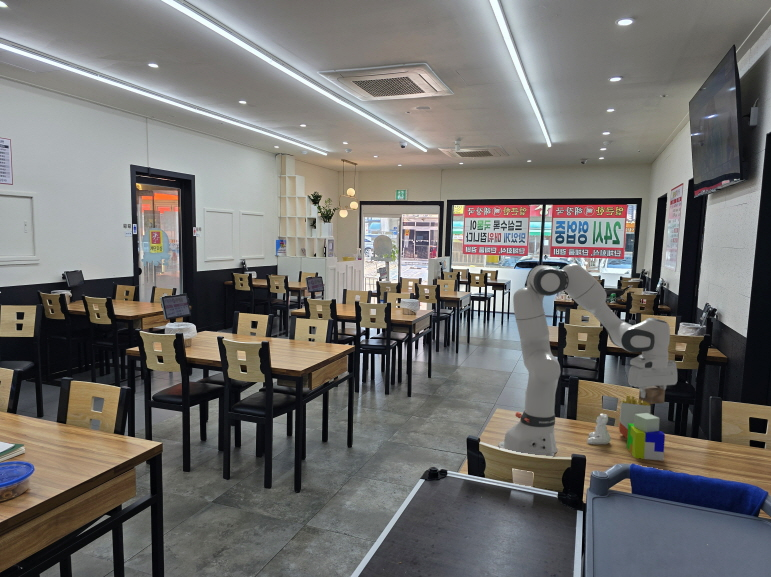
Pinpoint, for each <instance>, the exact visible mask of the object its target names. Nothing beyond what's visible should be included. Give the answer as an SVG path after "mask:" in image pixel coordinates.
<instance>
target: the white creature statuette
mask: <svg viewBox="0 0 771 577" xmlns="http://www.w3.org/2000/svg"><path fill="white" fill-rule="evenodd" d="M608 422H609V417H608V414H605V413H600V415H598V416H597V417H596V420H595V423H597V424H596V426H595V428H594V431H592V432H589V433H588V438H587V439H586V442H587V444H588V445H592V444H593V445H608V444H610V442H611V440H612V436H611V434H610V432H608V427H607V423H608Z"/></svg>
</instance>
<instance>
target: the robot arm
mask: <svg viewBox="0 0 771 577" xmlns="http://www.w3.org/2000/svg"><path fill="white" fill-rule="evenodd" d="M560 292H561V293H562V292H565V293H566V294H568V295H569V297H570V298H571V299H572V300H573V301H574V302H575V303H576V304H577V305H578V306H580V307H581V308H582V309H584V310H585V311H587V312H589V313H590V314H592V316H594V317H595V318H596V319H597V321H598V322H599V323H600V324H601V325H602V326H603V327H604V328H605V330H606V332H607V335H608V337H609V340H610V342H611V343H612V344H613V345H614V346H616V347H619V348H621V349H623V350H625V351H627V352H629V353H641V354H639V355H638V356H636V357H633V358H631V359H630V360H629V365H631V366H630V367H629V369H628V374H627V375H628V376H627V383H628V385H629V386H631V387H634V388H638V391H640V392H641V397H642V398H647V394H648V393H646V392H645V390H644V389H646V387H648V386H655V387H658V388H661V389H664V390H665V391H666V389H667V386H675V385H677V382H678V368H677V363H676V361H674V360H672V359H671V360H669V355H670V353H669V350H668V349H669V345H670V340H671V333H670V332H671V330H670V325H669V323H668V322H667V321H665V320H662V319H659V318H655V317H647V318H646V319H645V320H643V321H641V322H639V323H636V324H633V325H632V324H630V323H629V322H626V321H623V320H622V319H621V318H619V317H618V316H617V314H616V313H614V311H613V310H612V309H611V308H610V306H608V304H607V302H606V301H607V292H606V290H605V289H604V286H602V285H601V283H600V282H599V281H598V280H597V279H596V278H595V277H594V276H593V275H592V274H591V273H590V272H589V271H588V270H586V269H585V268H584V267H582V266H581V265H580V264H577V263H569V264H567V265H565V266H563V267H562V268H561V269H559V268H555V267H553V266H550V265H546V264H538V265H535V266H534V267H532V268H531V269H530V270H529V272H528V274H527V276H526V279H525V282H524V287H522V288H519V289H518V290H516V291H515V292H514V294H513V296H512V297H513V298H512V303H513V304H512V305H513V312H514V313H513V314H514V316H515V321H516V325H517V331H518V334H519V339H520V347H521V354H522V360H523V364H524V367H525V368H526V370H527V372H528V380H527V386H526V389H525V393H524V410H523V412H522V413H521V412H519V411H517V412H515V417H516V418H517V419H519V421H518V422H517V423H515V424H514V425H512V426H511V428H509V429H508V430H507V431H506V433H505V436H504V441H503V440H502V441H501V442H500V441H499V442H498V448H499V447H501V448H505V449H508V450H512V451H516V452H521V453H528V454H535V455H546V456H554V457H555V454H556V453H557V451H558V448H557V442H556V436H555V425H556V414H555V405H556V392H557V388H558V382H559V378H560V376H561V372H562V371H561V365H560V363H559V360H558V359H557V358H556V356H554V355H553V353H552V351H551V346H550V331H549V326H548V322H547V318H546V317H547V316H546V312H545V309H544V303H543V302H544V297H550V296H551V297H552V296H555V295H557V294H559V293H560Z"/></svg>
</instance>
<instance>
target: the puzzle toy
mask: <svg viewBox="0 0 771 577" xmlns="http://www.w3.org/2000/svg"><path fill="white" fill-rule="evenodd" d="M626 439H627V438H626ZM665 440H666V435H665V433H664V432H663V431H662V430H661V429H660V428H659V431H653V432H644V431H642V430H640V429H638V428H635V427H634V424H631V423H628V439H627V442H626V448H627V450H628V449H629V450H628V451H629V453H630V454H631V453H632V454H631V456H634V457H635V458H634V457H633V458H634V459H639V458H641V460H651V461H661V462H662V461H664V456H665V443H666V442H665Z"/></svg>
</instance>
